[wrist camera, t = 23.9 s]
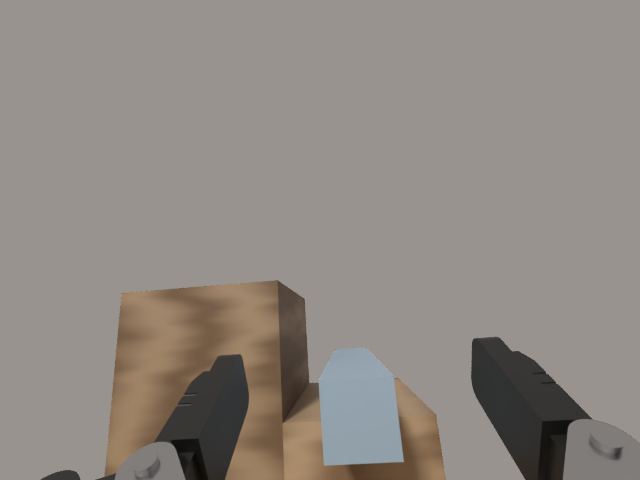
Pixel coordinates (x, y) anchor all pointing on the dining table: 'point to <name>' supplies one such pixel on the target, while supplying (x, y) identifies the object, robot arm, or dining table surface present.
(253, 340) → the walnut stand
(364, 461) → the slate-blue bar
